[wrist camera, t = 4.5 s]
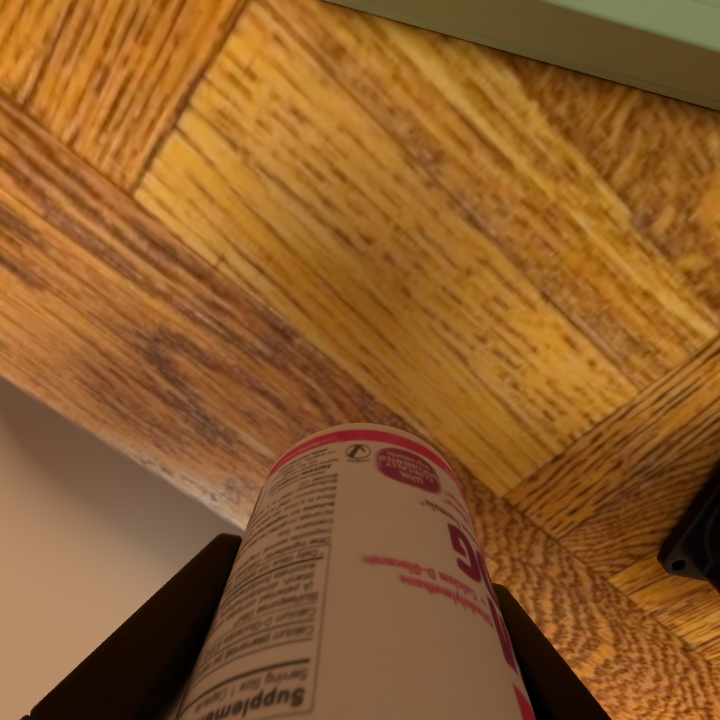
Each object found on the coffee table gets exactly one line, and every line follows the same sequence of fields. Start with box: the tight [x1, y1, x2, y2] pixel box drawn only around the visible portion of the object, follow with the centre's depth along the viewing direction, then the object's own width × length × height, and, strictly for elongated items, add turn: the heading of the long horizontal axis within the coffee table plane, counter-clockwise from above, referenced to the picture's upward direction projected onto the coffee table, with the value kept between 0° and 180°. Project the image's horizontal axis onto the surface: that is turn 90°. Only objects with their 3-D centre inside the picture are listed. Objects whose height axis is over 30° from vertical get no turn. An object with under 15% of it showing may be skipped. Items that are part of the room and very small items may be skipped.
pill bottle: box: [175, 423, 536, 720], centre depth 6 cm, size 5×5×8 cm
